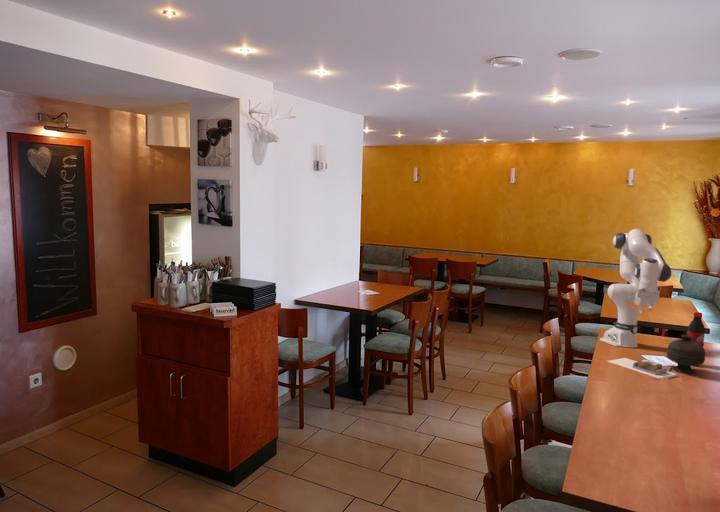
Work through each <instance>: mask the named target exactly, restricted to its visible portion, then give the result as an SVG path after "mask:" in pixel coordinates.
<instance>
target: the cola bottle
mask: <svg viewBox="0 0 720 512" xmlns="http://www.w3.org/2000/svg"><path fill="white" fill-rule="evenodd" d="M702 318H703V313H702V312H698V311H694V312H693V318H692V321H691V322H690V323H689V325H688V326H687V332H686V333H687V334H686V335H690V336H693V338H692V339H691V340H692V341H695V342H697V343H699V344H700V345H701V346H702V347H703V348H704V345H705V334H706V327H705V325H704V323H703V319H702ZM698 366H700V365H696V366H695V367H698Z"/></svg>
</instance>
